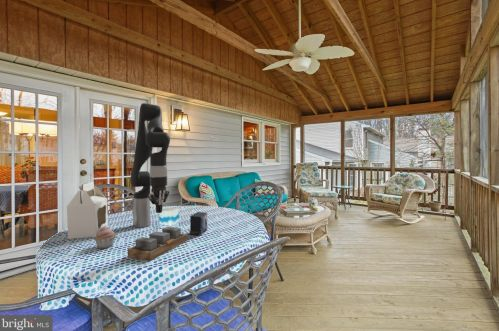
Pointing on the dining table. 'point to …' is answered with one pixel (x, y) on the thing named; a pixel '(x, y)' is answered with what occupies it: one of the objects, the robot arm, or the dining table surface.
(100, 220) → the gable box
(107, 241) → the cupcake
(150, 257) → the rack
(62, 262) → the dining table surface
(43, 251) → the dining table surface
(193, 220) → the small box
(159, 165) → the robot arm
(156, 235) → the block
